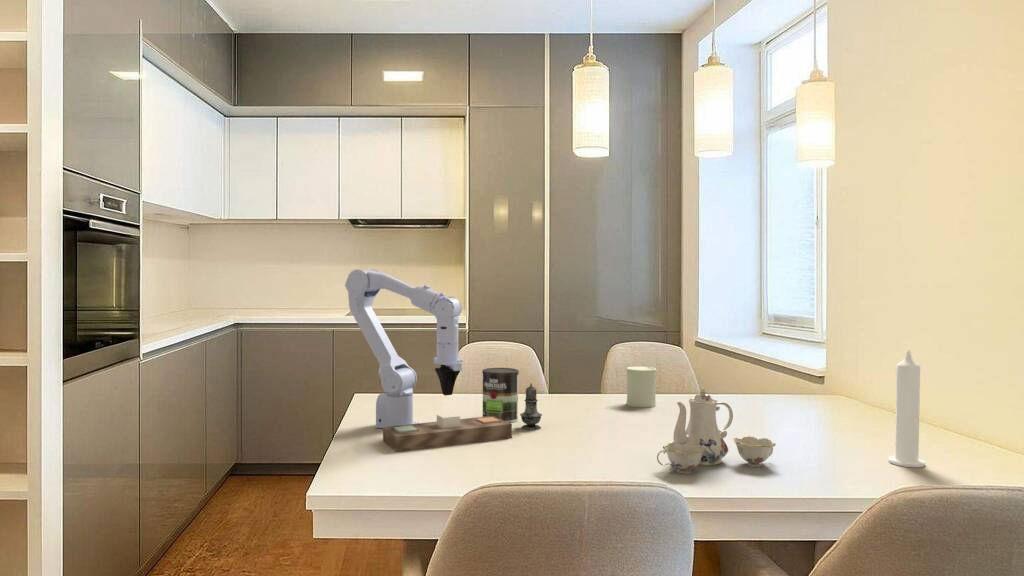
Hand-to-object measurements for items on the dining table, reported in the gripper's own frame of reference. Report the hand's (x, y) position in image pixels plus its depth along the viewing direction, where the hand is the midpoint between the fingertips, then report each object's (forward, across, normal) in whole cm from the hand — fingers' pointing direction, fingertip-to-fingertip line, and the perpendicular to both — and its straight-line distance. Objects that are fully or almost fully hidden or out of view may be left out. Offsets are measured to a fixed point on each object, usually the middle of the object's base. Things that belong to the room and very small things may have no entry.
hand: (447, 394), depth 182 cm
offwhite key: (+7, -9, +4) cm, 12 cm away
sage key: (+9, -9, +15) cm, 19 cm away
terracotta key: (+9, -9, -8) cm, 15 cm away
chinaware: (+10, -55, -40) cm, 68 cm away
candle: (+10, -74, -78) cm, 108 cm away
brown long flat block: (+9, -9, +4) cm, 14 cm away
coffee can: (+10, +6, -18) cm, 22 cm away
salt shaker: (+10, -7, -21) cm, 24 cm away
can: (+10, +6, -68) cm, 69 cm away
